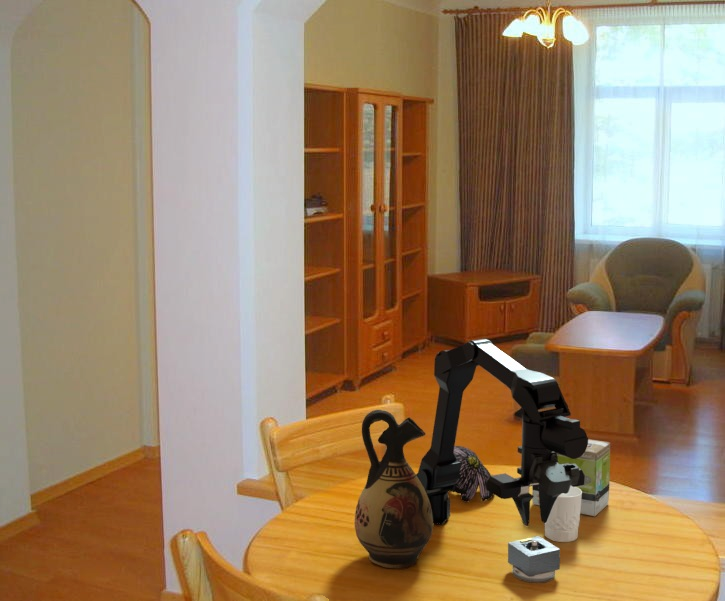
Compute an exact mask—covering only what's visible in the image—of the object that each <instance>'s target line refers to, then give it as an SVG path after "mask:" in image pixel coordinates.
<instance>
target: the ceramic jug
mask: <svg viewBox="0 0 725 601" xmlns="http://www.w3.org/2000/svg"><path fill="white" fill-rule="evenodd" d="M381 421H382V422H384V423H386V424H388V427H387V428H386V429H384V430H383V432H382V433H381V434H380V435H379V437H378V439H377V441H378V443H379V444H381V445H385V447H386V449H385V452H384V455H383V456H382V459H381V460H379V458H378V455H377V452H376V450H375V448H374V443H373V440H372V436H371V430H370V429H371V425H373V424H374V423H375V422H381ZM361 423H362V424H361V437H362V442H363V444H364V447H365V450H366V452H367V456H368V458H369V462H370V467H369V469H368V475H367V479H366V483H365V486H364V487H363V489H362V490H361V492H360V496H359V498H358V500H357V504H356V507H355V512H354V529H355V535H356V538H357V539H358V541H359V543H360V544H361V546H362V547H363V548H364V549H365V550H366V552H367V553H368V559H369V560H370V562H372V564H375V565H378V566H380V567H383V568H385V569H401V570H405V569H409V567H412V566H414V565H416V564H417V563H418V561H419V558H418V557H419V556H420V554H421V552H423V550H424V549H425V547H426V546H427V545H428V544H429V542H430V539H431V538H432V534H433V530H434V529H433V528H434V524H433V515H432V509H431V505H430V502H429V499H428V496H427V494H426V491H425V489H424V487H423V486H422V484H421V482H420V481H419V479H418V477H417V476H416V474H417V473H415V471H414V470H413V468H412V466H410V464H409V463H408V462H407V459H406V458H405V454H404V446H405V445H406V444H408V443H410V442H412V441H414V440H416V439H419V438H422V437H424V436H426V432H425V431H424V430H423V428H422V427H420V426H419V425H418V424H417V422H415V421H414V419H412V418H411V417H410V416H408V417H406V419H404V420H403V421H402V422H401V423H400V424H398V422H397V419H396V417H395V416H394V415H393V414H392V413H391V412H389V411H386V410H381V409H375V410H372V411H370V412H368V413H367V414H366V415H365V417H364V418H363V420H362V422H361ZM346 562H348V561H347V560H346Z"/></svg>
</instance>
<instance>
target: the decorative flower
mask: <svg viewBox="0 0 725 601" xmlns="http://www.w3.org/2000/svg"><path fill="white" fill-rule="evenodd" d="M454 454H455V456H456V458H457V460H458V461H459V462H461V465H462V466H461V469H460V479H458V480H457V483H456V486H455V489H454V491H452V493H456V494H459V495H460V500H461V501H462V502H464V503H468V501H469V502H470V501H471V500H473V498H474V497H475V495H476V493H477V491H478V489H479V493H480V499H481V502H482V503H484V502H485V501H490V499H492V497H493V496H494V494H493V493H491V492H489V491H488V490H486V483H487V479H488V478H489V477H490V476H492V474H491V472H489V470H488V469H487V467H486V466H484V464H483V463H482V461H481V460H480V457H478V455H477V454H476V452H474V451H473V450H471V449H470V448H468V447H465V446H460V445H455V446H454Z"/></svg>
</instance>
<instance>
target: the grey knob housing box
mask: <svg viewBox="0 0 725 601" xmlns="http://www.w3.org/2000/svg"><path fill="white" fill-rule="evenodd" d="M532 540H536V541H537V548H538V549H539V550H535V551H530V548H531V547H532ZM507 563H508V564H510V566H512V567H513V566H514V567H515V568H517V569H518V570H520V571H521V572H523V573H524V574H525V575H527V576H528V577H530V576H534V575H538V574H542V573H547V572H551V571H555V572H556V571H558V570H560V569H561V548H559V547H557V546H555V545H553V543H550V542H549V541H547V539H544V538H543V537H541V536H539V535H536V536H532V537H529V538H523V539H519V540H513V541H509V542H507Z"/></svg>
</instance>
